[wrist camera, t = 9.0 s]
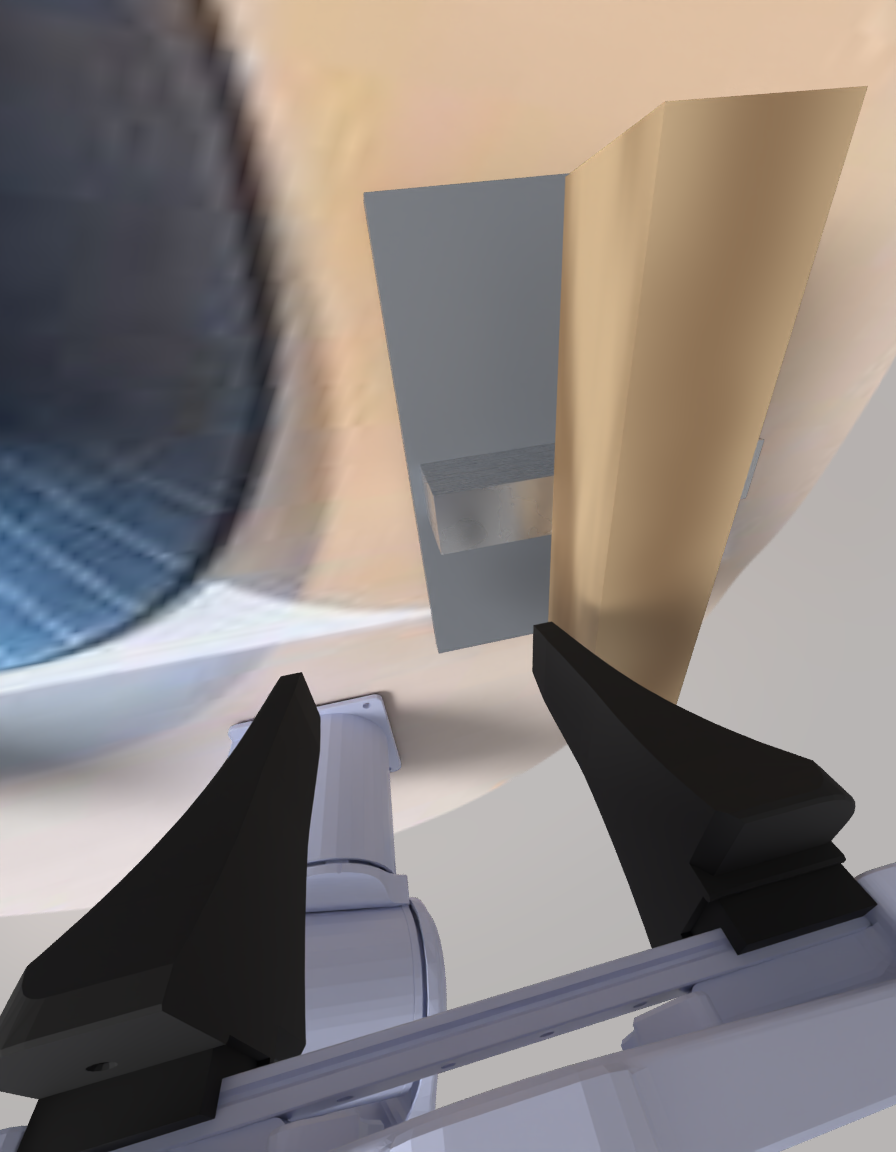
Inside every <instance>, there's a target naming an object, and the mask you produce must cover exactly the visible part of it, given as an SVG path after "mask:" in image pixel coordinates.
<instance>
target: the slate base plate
mask: <svg viewBox="0 0 896 1152" xmlns="http://www.w3.org/2000/svg"><path fill="white" fill-rule="evenodd" d="M569 174H570V173H569ZM569 174H558V175H547V176H536V177H526V178H515V179H504V180H493V181H483V182H472V183H461V184H450V185H440V186H429V187H418V188H408V189H397V190H386V191H375V192H365V193H364V207H365V213H366V219H367V225H368V231H369V237H370V244H371V250H372V256H373V262H374V268H375V274H376V280H377V286H378V292H379V298H380V304H381V310H382V317H383V323H384V329H385V335H386V341H387V347H388V353H389V359H390V365H391V371H392V377H393V383H394V389H395V396H396V402H397V408H398V414H399V420H400V426H401V432H402V438H403V444H404V450H405V456H406V462H407V469H408V475H409V481H410V487H411V493H412V499H413V505H414V511H415V517H416V523H417V529H418V535H419V541H420V548H421V554H422V560H423V566H424V572H425V578H426V584H427V590H428V596H429V602H430V608H431V614H432V620H433V627H434V633H435V639H436V644H437V648H438V652H439V653H443V652H448V651H453V650H458V649H462V648H467V647H472V646H477V645H481V644H486V643H491V642H496V641H500V640H505V639H510V638H515V637H519V636H524V635H529V634H533V625H536V624H541V623H546V622H548V614H549V588H550V562H551V536H552V534H551V535H545V536H540V537H535V538H529V539H524V540H519V541H513V542H508V543H503V544H497V545H492V546H486V547H481V548H476V549H470V550H465V551H460V552H454V553H449V554H444V555H441V553H440V550H439V547H438V544H437V541H436V539H435V536H434V533H433V530H432V527H431V525H430V522H429V519H428V516H427V512H426V505H425V498H424V491H423V485H422V478H421V471H420V464H425V463H431V462H437V461H443V460H449V459H456V458H462V457H468V456H474V455H480V454H486V453H493V452H499V451H505V450H511V449H517V448H523V447H529V446H536V445H542V444H548V443H554V442H555V433H556V407H557V381H558V355H559V329H560V304H561V278H562V252H563V226H564V200H565V177H566V176H567V175H569Z"/></svg>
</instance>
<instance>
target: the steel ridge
mask: <svg viewBox="0 0 896 1152" xmlns="http://www.w3.org/2000/svg"><path fill="white" fill-rule="evenodd" d="M763 442H764V439H760V438H759V439H758V443H757V446H756V449H755V452H754V455H753V459H752V462H751V465H750V468H749V472H748V475H747V478H746V481H745V485H744V488H743V491H742V494H741V497H740V499H744V498H746V496H747V493H748V490H749V486H750V483H751V480H752V477H753V474H754V471H755V467H756V464H757V461H758V458H759V455H760V452H761V449H762V445H763ZM554 459H555V442H554V443H548V444H542V445H536V446H529V447H523V448H517V449H511V450H505V451H499V452H493V453H486V454H480V455H474V456H468V457H462V458H456V459H449V460H443V461H437V462H431V463H425V464H420V471H421V478H422V485H423V491H424V498H425V505H426V512H427V516H428V519H429V522H430V525H431V527H432V530H433V533H434V536H435V539H436V541H437V544H438V547H439V550H440V553H441V555H444V554H449V553H454V552H460V551H465V550H470V549H476V548H481V547H486V546H492V545H497V544H503V543H508V542H513V541H519V540H524V539H529V538H535V537H540V536H545V535H551V534H552V511H553V485H554Z"/></svg>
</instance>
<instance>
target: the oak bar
mask: <svg viewBox="0 0 896 1152" xmlns="http://www.w3.org/2000/svg"><path fill="white" fill-rule="evenodd" d="M867 87H868V86H862V87H849V88H836V89H822V90H809V91H796V92H783V93H770V94H757V95H744V96H731V97H718V98H705V99H692V100H679V101H666V102H664V103H663V104H661V105H660V106H659V107H657V108H656V109H655V110H653V111H652V112H651V113H649V114H648V115H647V116H645V117H644V118H643V119H641V120H640V121H639V122H637V123H636V124H635V125H633V126H632V127H631V128H630V129H628V130H627V131H626V132H624V133H623V134H622V135H620V136H619V137H618V138H616V139H615V140H614V141H612V142H611V143H610V144H608V145H607V146H606V147H604V148H603V149H602V150H600V151H599V152H598V153H596V154H595V155H594V156H592V157H591V158H590V159H588V160H587V161H586V162H584V163H583V164H582V165H581V166H579V167H578V168H577V169H575V170H574V171H573V172H571V173H570V174H569V175H567V176H566V177H565V200H564V226H563V252H562V278H561V304H560V329H559V355H558V381H557V407H556V433H555V459H554V485H553V511H552V536H551V562H550V588H549V614H548V622H551V621H552V622H553V623H555V624H556V625H557V626H559V627H560V628H561V629H562V630H564V631H565V632H566V633H568V634H569V635H570V636H571V637H573V638H574V639H575V640H577V641H578V642H579V643H580V644H582V645H583V646H584V647H586V648H587V649H588V650H590V651H591V652H592V653H594V654H595V655H596V656H598V657H599V658H601V659H602V660H603V661H605V662H606V663H608V664H609V665H610V666H612V667H613V668H615V669H616V670H618V671H619V672H621V673H622V674H624V675H625V676H627V677H628V678H630V679H632V680H633V681H635V682H636V683H638V684H640V685H641V686H643V687H645V688H646V689H648V690H650V691H652V692H653V693H655V694H657V695H659V696H661V697H662V698H664V699H666V700H668V701H670V702H671V703H673V704H675V705H676V704H677V701H678V697H679V695H680V691H681V688H682V685H683V681H684V678H685V675H686V672H687V669H688V666H689V662H690V659H691V656H692V652H693V649H694V646H695V643H696V640H697V636H698V633H699V630H700V627H701V623H702V620H703V617H704V614H705V611H706V607H707V604H708V601H709V598H710V594H711V591H712V588H713V585H714V581H715V578H716V575H717V572H718V569H719V565H720V562H721V559H722V556H723V552H724V549H725V546H726V543H727V539H728V536H729V533H730V530H731V527H732V523H733V520H734V517H735V514H736V510H737V507H738V504H739V501H740V497H741V494H742V491H743V488H744V485H745V481H746V478H747V475H748V472H749V468H750V465H751V462H752V459H753V455H754V452H755V449H756V446H757V443H758V439H759V436H760V433H761V430H762V426H763V423H764V420H765V417H766V413H767V410H768V407H769V404H770V401H771V397H772V394H773V391H774V388H775V384H776V381H777V378H778V375H779V371H780V368H781V365H782V362H783V359H784V355H785V352H786V349H787V346H788V342H789V339H790V336H791V333H792V329H793V326H794V323H795V320H796V317H797V313H798V310H799V307H800V304H801V300H802V297H803V294H804V291H805V287H806V284H807V281H808V278H809V275H810V271H811V268H812V265H813V262H814V258H815V255H816V252H817V249H818V245H819V242H820V239H821V236H822V233H823V229H824V226H825V223H826V220H827V216H828V213H829V210H830V207H831V203H832V200H833V197H834V194H835V191H836V187H837V184H838V181H839V178H840V174H841V171H842V168H843V165H844V161H845V158H846V155H847V152H848V149H849V145H850V142H851V139H852V136H853V132H854V129H855V126H856V123H857V119H858V116H859V113H860V110H861V107H862V103H863V100H864V97H865V94H866V90H867Z"/></svg>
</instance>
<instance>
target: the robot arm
mask: <svg viewBox="0 0 896 1152" xmlns="http://www.w3.org/2000/svg"><path fill="white" fill-rule="evenodd" d="M532 672H533V674H534V677H535V679H536V682H537V685H538V687H539V690H540V692H541V694H542V697H543V699H544V701H545V703H546V705H547V707H548V709H549V711H550V713H551V715H552V716H553V718H554V720H555V722H556V724H557V726H558V727H559V729H560V731H561V733H562V735H563V737H564V738H565V740H566V742H567V744H568V746H569V747H570V749H571V751H572V753H573V755H574V757H575V758H576V760H577V762H578V764H579V766H580V768H581V770H582V772H583V774H584V776H585V778H586V780H587V783H588V785H589V787H590V790H591V792H592V794H593V796H594V799H595V801H596V804H597V806H598V808H599V811H600V813H601V815H602V818H603V820H604V823H605V825H606V828H607V830H608V833H609V835H610V838H611V840H612V842H613V845H614V848H615V850H616V853H617V855H618V858H619V860H620V863H621V866H622V868H623V871H624V873H625V876H626V878H627V881H628V884H629V886H630V889H631V892H632V894H633V897H634V900H635V903H636V905H637V908H638V911H639V913H640V916H641V919H642V921H643V924H644V927H645V930H646V933H647V936H648V939H649V942H650V944H651V947H652V949H649V950H646V951H642V952H639V953H636V954H633V955H629V956H626V957H623V958H619V959H616V960H613V961H609V962H606V963H603V964H600V965H596V966H593V967H589V968H586V969H583V970H580V971H576V972H573V973H570V974H566V975H563V976H560V977H556V978H554V979H550V980H547V981H544V982H540V983H537V984H533V985H530V986H527V987H523V988H520V989H517V990H513V991H510V992H507V993H504V994H500V995H497V996H494V997H490V998H487V999H484V1000H481V1001H477V1002H474V1003H471V1004H467V1005H464V1006H461V1007H457V1008H454V1009H451V1010H447V1007H446V1006H447V1003H446V1001H447V999H446V977H445V967H444V959H443V952H442V947H441V942H440V938H439V934H438V931H437V928H436V925H435V923H434V920H433V918H432V917H431V915H430V914H429V913H428V911H427V909H426V907H425V905H424V904H423V903H422V901H421V900H420V899H418V898H416V897H411V898H409V892H408V880H407V876H406V875H397V874H396V866H395V851H394V834H393V819H392V803H391V787H390V772H394V771H397V770H399V769H400V768H401V760H400V757H399V753H398V750H397V747H396V743H395V740H394V736H393V733H392V729H391V726H390V723H389V719H388V716H387V712H386V709H385V706H384V702H383V699H382V697H381V696H380V695H377V694H374V695H369V696H364V697H360V698H355V699H350V700H346V701H341V702H337V703H332V704H327V705H323V706H318V707H316V705H315V702H314V700H313V698H312V695H311V693H310V690H309V688H308V686H307V683H306V681H305V678H304V676H303V674H302V672H300V673H295V674H290V675H286V676H281V677H280V679H279V680H278V681H277V683H276V685H275V686H274V688H273V690H272V691H271V693H270V694H269V696H268V698H267V699H266V701H265V703H264V704H263V706H262V707H261V709H260V711H259V712H258V714H257V715H256V717H255V719H254V720H253V721H249V722H245V723H240V724H236V725H233V726H231V727H230V729H229V732H228V736H229V737H230V739H231V740H232V745H231V749H230V752H229V755H228V758H227V760H226V761H225V763H224V764H223V765H222V767H221V768H220V769H219V771H218V772H217V774H216V775H215V776H214V778H213V779H212V780H211V781H210V783H209V784H208V785H207V787H206V788H205V789H204V790H203V792H202V793H201V794H200V795H199V797H198V798H197V799H196V800H195V801H194V803H193V804H192V805H191V806H190V808H189V809H188V810H187V811H186V812H185V813H184V815H183V816H182V817H181V818H180V819H179V820H178V821H177V823H176V824H175V825H174V826H173V827H172V828H171V829H170V830H169V831H168V832H167V833H166V835H165V836H164V837H163V838H162V839H161V840H160V841H159V842H158V843H157V844H156V845H155V846H154V848H153V849H152V850H151V851H150V852H149V853H148V854H147V855H146V856H145V857H144V858H143V859H142V860H141V861H140V862H139V863H138V864H137V865H136V866H135V867H134V868H133V869H132V870H131V871H130V872H129V873H128V874H127V875H126V876H125V877H124V878H123V879H122V880H121V881H120V882H119V883H118V884H117V885H116V886H115V887H114V888H113V889H112V890H111V891H110V892H109V893H108V894H107V895H106V896H105V897H104V898H103V899H102V900H101V901H99V902H98V903H97V904H96V905H95V906H94V907H93V908H92V909H91V910H90V911H89V912H88V913H87V914H86V915H84V916H83V917H82V918H81V919H80V920H79V921H78V922H77V923H75V924H74V925H73V926H72V927H71V928H70V929H69V930H68V931H66V933H64V934H63V935H62V936H61V937H60V938H59V939H58V940H56V942H54V943H53V944H52V945H51V946H50V947H49V948H47V949H46V950H45V951H44V952H43V953H42V954H41V955H40V956H38V957H37V958H36V959H35V960H34V961H33V962H31V963H30V964H29V965H28V966H27V967H26V969H25V971H24V973H23V974H22V976H21V978H20V980H19V982H18V984H17V986H16V987H15V989H14V991H13V993H12V995H11V997H10V999H9V1000H8V1002H7V1004H6V1006H5V1008H4V1010H3V1012H2V1014H1V1016H0V1091H1V1092H6V1093H11V1094H16V1095H20V1096H25V1097H30V1098H35V1099H39V1100H38V1102H37V1105H36V1107H35V1110H34V1112H33V1114H32V1116H31V1119H30V1121H29V1124H28V1126H18V1127H11V1128H6V1129H2V1130H0V1152H780V1151H783V1150H785V1149H788V1148H790V1147H792V1146H795V1145H798V1144H800V1143H802V1142H805V1141H807V1140H809V1139H812V1138H815V1137H817V1136H820V1135H822V1134H824V1133H827V1132H829V1131H832V1130H834V1129H837V1128H839V1127H842V1126H844V1125H847V1124H849V1123H852V1122H854V1121H856V1120H859V1119H861V1118H864V1117H866V1116H869V1115H871V1114H874V1113H876V1112H879V1111H881V1110H884V1109H886V1108H888V1107H891V1106H893V1105H896V862H895V863H892V864H888V865H885V866H881V867H878V868H875V869H872V870H869V871H866V872H864V873H862V874H860V875H858V876H856V877H855V878H853V876H852V875H851V874H850V873H849V872H848V871H847V870H846V869H845V868H844V866H843V865H842V864H841V863H844V861H845V860H846V858H845V856H844V854H843V853H842V852H841V851H840V850H839V849H838V848H837V847H836V846H835V845H834V844H833V843H832V841H831V840H832V839H833V838H834V837H835V836H836V835H837V834H838V832H839V831H840V830H841V829H842V828H843V827H844V826H845V824H846V823H847V822H848V821H849V819H850V818H851V817H852V815H853V814H854V811H855V801H854V799H853V798H852V796H851V795H849V794H848V793H847V792H846V791H845V790H844V789H843V788H842V787H841V786H840V785H839V784H838V783H837V782H835V781H834V780H833V779H832V778H831V777H830V776H829V775H828V774H827V773H826V772H825V771H824V770H823V769H822V768H821V767H820V766H818V765H817V764H816V763H815V762H814V761H813V760H810V759H807V758H804V757H801V756H798V755H796V754H793V753H790V752H787V751H784V750H781V749H778V748H775V747H773V746H770V745H767V744H764V743H761V742H759V741H756V740H754V739H751V738H748V737H746V736H744V735H741V734H739V733H736V732H734V731H731V730H729V729H726V728H724V727H722V726H720V725H717V724H715V723H713V722H710V721H708V720H706V719H704V718H702V717H700V716H698V715H696V714H694V713H691V712H689V711H687V710H685V709H683V708H681V707H679V706H677V705H675V704H673V703H671V702H670V701H668V700H666V699H664V698H662V697H661V696H659V695H657V694H655V693H653V692H652V691H650V690H648V689H646V688H645V687H643V686H641V685H640V684H638V683H636V682H635V681H633V680H632V679H630V678H628V677H627V676H625V675H624V674H622V673H621V672H619V671H618V670H616V669H615V668H613V667H612V666H610V665H609V664H608V663H606V662H605V661H603V660H602V659H601V658H599V657H598V656H596V655H595V654H594V653H592V652H591V651H590V650H588V649H587V648H586V647H584V646H583V645H582V644H580V643H579V642H578V641H577V640H575V639H574V638H573V637H571V636H570V635H569V634H568V633H566V632H565V631H564V630H562V629H561V628H560V627H559V626H557V625H556V624H555V623H553V622H552V621H551V622H546V623H541V624H536V625H533V667H532ZM365 703H368V704H365ZM677 997H678V998H677ZM674 998H676V999H674ZM671 999H674V1000H671ZM668 1000H671V1001H669V1002H667V1003H665V1004H663V1005H661V1006H659V1007H657V1008H654V1009H653V1010H650V1011H648V1012H646V1013H644V1014H642V1015H640V1016H637V1017H635V1018H634V1022H633V1026H634V1030H633V1032H631V1033H630V1034H629V1035H628V1036H627V1037H626V1038H624V1039H623V1040H622V1044H621V1047H622V1049H623V1051H620V1052H616V1053H612V1054H608V1055H605V1056H601V1057H597V1058H594V1059H590V1060H587V1061H583V1062H580V1063H576V1064H572V1065H569V1066H565V1067H562V1068H559V1069H555V1070H553V1071H549V1072H546V1073H542V1074H539V1075H536V1076H532V1077H529V1078H526V1079H523V1080H520V1081H517V1082H514V1083H511V1084H508V1085H505V1086H502V1087H498V1088H495V1089H492V1090H490V1091H486V1092H484V1093H481V1094H478V1095H475V1096H472V1097H470V1098H466V1099H464V1100H461V1101H458V1102H455V1103H452V1104H450V1105H447V1106H444V1107H441V1108H438V1109H436V1110H435V1105H436V1104H435V1103H436V1089H437V1078H438V1074H439V1073H442V1072H445V1071H448V1070H451V1069H455V1068H457V1067H461V1066H464V1065H467V1064H470V1063H473V1062H476V1061H480V1060H483V1059H486V1058H489V1057H492V1056H495V1055H498V1054H501V1053H505V1052H507V1051H511V1050H514V1049H517V1048H520V1047H524V1046H527V1045H529V1044H533V1043H536V1042H539V1041H542V1040H545V1039H549V1038H552V1037H555V1036H558V1035H561V1034H564V1033H567V1032H570V1031H574V1030H577V1029H580V1028H583V1027H586V1026H589V1025H592V1024H595V1023H599V1022H602V1021H605V1020H608V1019H611V1018H614V1017H618V1016H621V1015H623V1014H627V1013H630V1012H633V1011H636V1010H639V1009H643V1008H646V1007H649V1006H652V1005H655V1004H658V1003H662V1002H665V1001H668ZM446 1010H447V1011H446Z"/></svg>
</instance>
